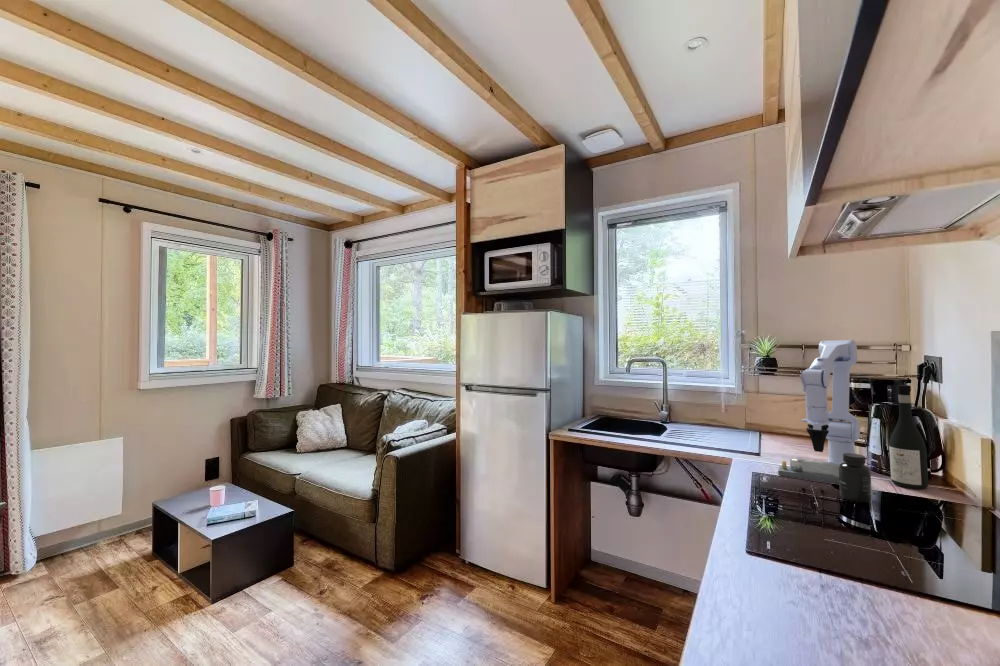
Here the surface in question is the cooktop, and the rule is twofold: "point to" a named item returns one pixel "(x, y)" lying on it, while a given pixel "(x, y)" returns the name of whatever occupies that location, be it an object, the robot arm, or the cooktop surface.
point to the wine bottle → (907, 447)
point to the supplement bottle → (855, 478)
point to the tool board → (805, 474)
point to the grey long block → (815, 467)
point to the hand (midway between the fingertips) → (818, 449)
